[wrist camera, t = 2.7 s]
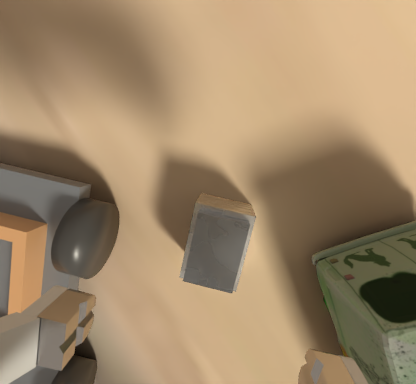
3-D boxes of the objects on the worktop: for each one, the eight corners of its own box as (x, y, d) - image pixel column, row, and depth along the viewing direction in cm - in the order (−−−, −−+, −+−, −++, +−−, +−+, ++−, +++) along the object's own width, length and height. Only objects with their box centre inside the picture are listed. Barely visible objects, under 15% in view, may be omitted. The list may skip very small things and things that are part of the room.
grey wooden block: (234, 266, 22) (236, 299, 17) (188, 254, 22) (176, 284, 17) (251, 204, 21) (257, 221, 16) (201, 192, 21) (193, 205, 16)
